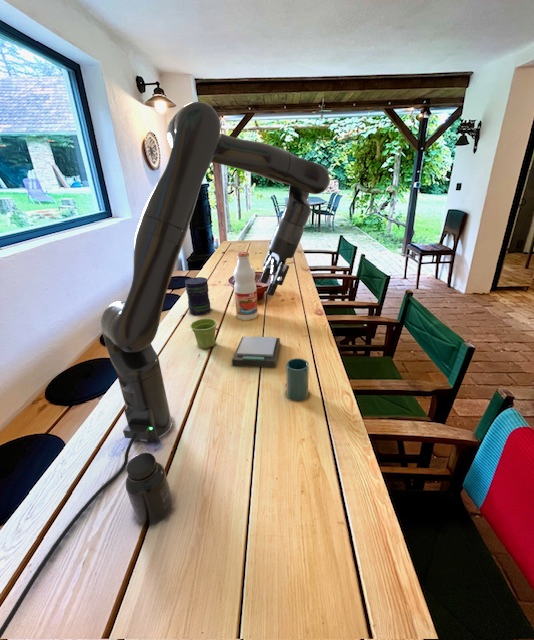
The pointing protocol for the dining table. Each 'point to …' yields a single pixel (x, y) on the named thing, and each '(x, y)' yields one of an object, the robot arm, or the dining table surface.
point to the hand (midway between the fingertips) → (266, 288)
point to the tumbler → (297, 379)
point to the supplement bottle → (148, 489)
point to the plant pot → (204, 332)
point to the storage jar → (198, 296)
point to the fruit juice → (245, 288)
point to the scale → (256, 352)
